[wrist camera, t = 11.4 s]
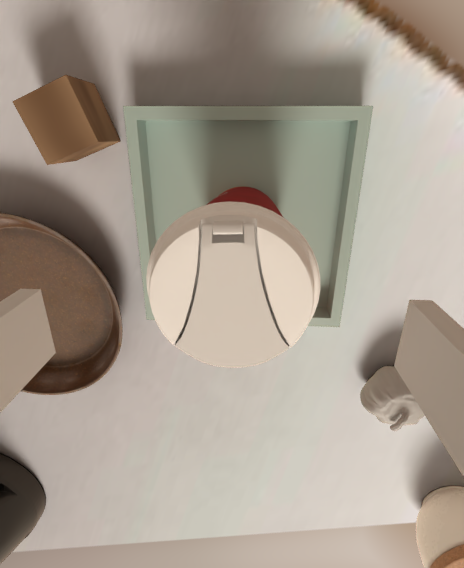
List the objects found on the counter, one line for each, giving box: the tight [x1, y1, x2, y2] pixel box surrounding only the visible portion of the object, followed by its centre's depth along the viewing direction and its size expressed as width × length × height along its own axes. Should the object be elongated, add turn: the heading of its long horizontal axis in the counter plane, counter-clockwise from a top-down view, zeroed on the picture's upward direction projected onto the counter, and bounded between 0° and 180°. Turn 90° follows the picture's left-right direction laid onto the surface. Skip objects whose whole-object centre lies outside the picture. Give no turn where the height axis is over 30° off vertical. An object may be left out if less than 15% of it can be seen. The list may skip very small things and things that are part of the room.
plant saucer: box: [0, 213, 122, 395], centre depth 30 cm, size 18×18×3 cm
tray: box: [123, 106, 373, 327], centre depth 26 cm, size 16×16×2 cm
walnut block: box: [13, 75, 120, 165], centre depth 23 cm, size 4×4×4 cm
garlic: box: [360, 366, 425, 431], centre depth 30 cm, size 6×5×5 cm
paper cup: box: [146, 186, 320, 368], centre depth 20 cm, size 8×8×14 cm
